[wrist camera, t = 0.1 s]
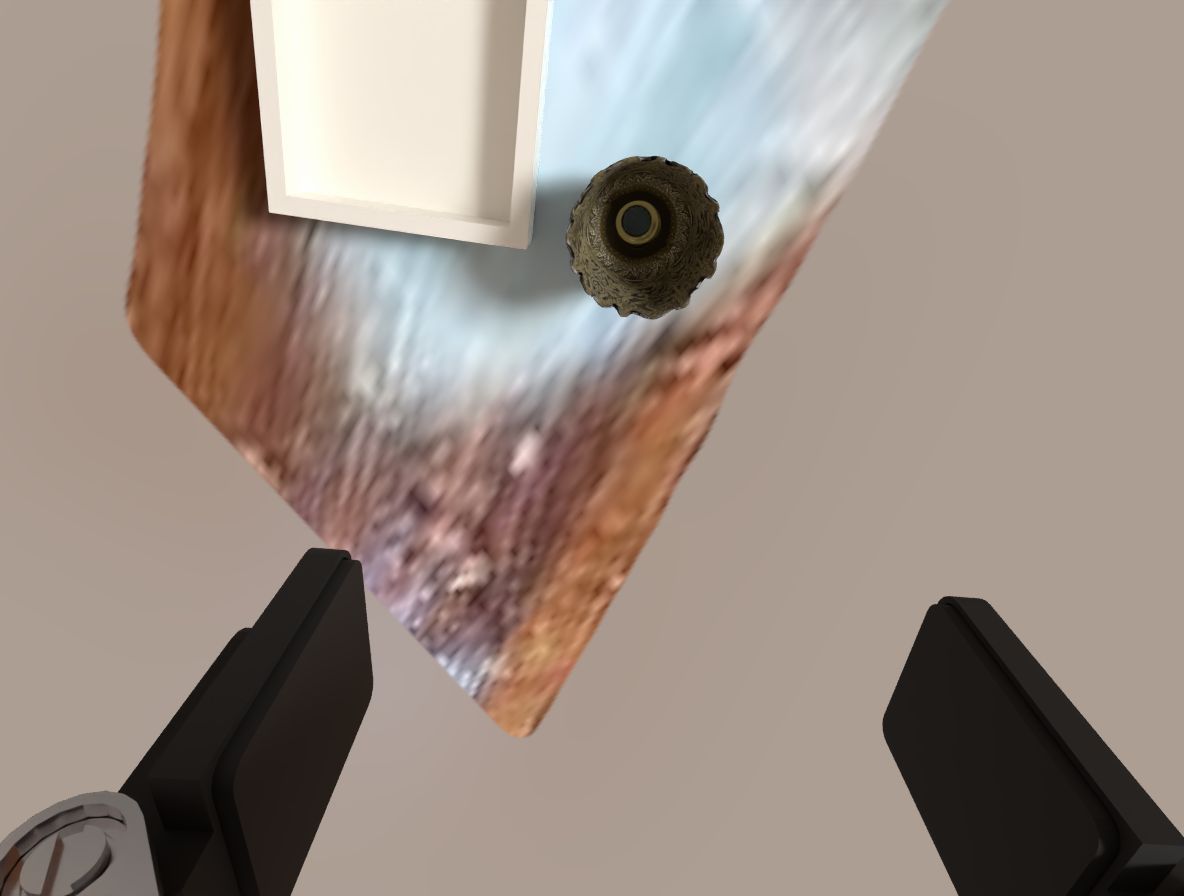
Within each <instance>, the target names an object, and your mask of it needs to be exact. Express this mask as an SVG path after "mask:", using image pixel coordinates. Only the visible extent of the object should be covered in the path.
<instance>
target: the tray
mask: <svg viewBox="0 0 1184 896" xmlns="http://www.w3.org/2000/svg"><path fill="white" fill-rule="evenodd" d="M250 5H251V16H252V27H253V38H254V49H255V60H256V71H257V83H258V94H259V105H260V116H261V127H262V138H263V149H264V161H265V172H266V183H267V194H268V205H269V212H270V213H277V214H283V215H290V216H297V217H304V218H311V219H318V220H325V221H331V222H338V223H345V224H352V225H359V226H366V227H373V228H379V229H386V230H393V231H400V232H407V233H414V234H420V235H427V236H434V237H441V238H448V239H455V240H462V241H468V242H475V243H482V244H489V245H496V246H503V247H510V248H516V249H523V250H526V249H527V248H528V246H529V245H530V243H531V242H532V234H533V223H534V213H535V202H536V191H537V180H538V169H539V158H540V147H541V136H542V125H543V114H544V104H545V93H546V82H547V71H548V60H549V49H550V38H551V27H552V16H553V5H554V0H250Z"/></svg>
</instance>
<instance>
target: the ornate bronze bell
mask: <svg viewBox="0 0 1184 896" xmlns="http://www.w3.org/2000/svg"><path fill="white" fill-rule="evenodd" d="M632 207H642V208H644V209H645V210H646V211H647V212H648V213H649V215H650V219H651V223H650V227H649V229H648V230H647V231H646V232H645V233H644V234H642V235H640V236H633V235H630V234H629V233H627V232H626V230H625V229H624V226H623V217H624V214H625V213H626V212H627V210H629V209H630V208H632ZM718 212H719V204H718V202H717V201H716V200H715V199H713V198H712V197H710V196H709V195H708V187H707V185H706V183H705V182H704V180H703V179H702V178H701V177H700V176H699V175H697V174H694V173H693V171H691V170H690V169H689V168H687V167H686V166H683V165H680V164H678V163H676V162H674V161H672V162H670V161H668V160H667V159H666V158H663V157H659V156H651V157H640V156H635V157H629V158H626V159H623V160H620V161H618V162H616V163H614V164H612V165H610V166H609V167H607V168H606V169H604V170H601V171H600V172H598V173H597V174H596V175H595V176H594V177H593V178H592V179H591V182H590V184H589V185H588V187H587V188H586V189H585V191H584V192H583V193H582V194H581V197H580V199H579V201H578V202H577V203H576V204H575V206H574V208H573V210H572V212H571V216H570V219H571V220H570V223H569V226H568V229H567V232H566V245H567V248H568V250H569V252H570V255H571V260H570V266H571V269H572V271H573V272H574V273H577V274H579V279H580V282H581V284H582V286H583V288H584V290H585V292H586V293H587V294H588V295H591V296H592V297H593V298H594V300H595V301H596V302H597V303H598V305H600V306H601V307H603V308H611V307H615V309H616V310H617V311H618V314H619V315H620V316H622V317H627V316H629V315H630V314H636V315H639V316H641V317H643V318H647V319H658V318H660V317H662V316H664V315H666V314H667V313H668V312H670V311H671V310H673V309H676V310H679V309H682V308H685V307H686V306H687V305H688V304H689V303H690V299H689V298H690V295H691V294H692V292H693V291H695V290H696V289H698V288H699V287H700V284H701V283H702V282H703V280H704V279H705V278H707V279H711V277H712V276H713V275H714V273H715V271H716V267H717V262H716V260H717V258H718V256H719V255H720V253H721V251H722V248H723V244H724V233H723V229H722V225H721V223H720V220H719V217H718Z"/></svg>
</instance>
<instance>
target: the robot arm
mask: <svg viewBox="0 0 1184 896" xmlns="http://www.w3.org/2000/svg"><path fill="white" fill-rule="evenodd" d="M372 690H373V672H372V663H371V653H370V644H369V633H368V623H367V613H366V603H365V593H364V583H363V573H362V565H361V562H360V561H358V560H351V555H350V553H349V551H347V550H336V549H323V548H311V549H309V550H308V551H307V552H306V553H305V554H304V556H303V557H302V559H301V560H300V561H299V563H298V564H297V566H296V567H295V568H294V570H293V571H292V573H291V574H290V575H289V577H288V578H287V580H286V581H285V582H284V584H283V585H282V587H281V588H280V589H279V591H278V592H277V594H276V595H275V597H274V598H273V599H272V601H271V602H270V603H269V605H268V606H267V608H266V609H265V610H264V612H263V613H262V615H261V616H260V617H259V619H258V620H257V622H256V623H255V624H254V626H253V627H252V628H244V629H242V630H240V631H238V632H237V633H236V634H235V636H233V638H232V639H231V640H230V641H229V642H228V644H227V645H226V647H225V648H224V649H223V651H222V652H221V653H220V655H219V656H218V657H217V659H216V660H215V662H214V663H213V664H212V665H211V667H210V668H209V670H208V671H207V672H206V674H205V675H204V676H203V678H202V679H201V680H200V682H199V683H198V684H197V686H196V687H195V689H194V690H193V691H192V693H191V694H190V695H189V697H188V698H187V699H186V701H185V702H184V703H183V705H182V706H181V707H180V709H179V710H178V712H177V713H176V714H175V715H174V717H173V718H172V720H171V721H170V722H169V724H168V725H167V727H166V728H165V729H164V730H163V732H162V733H161V734H160V736H159V737H158V739H157V740H156V741H155V743H154V744H153V745H152V747H151V748H150V749H149V751H148V752H147V753H146V755H145V756H144V757H143V759H142V760H141V761H140V763H139V764H138V766H137V767H136V769H135V770H134V771H133V772H132V774H131V775H130V776H129V778H128V779H127V780H126V782H125V783H124V784H123V786H122V787H121V789H120V790H119V791H118V793H116V792H109V791H101V792H93V793H86V794H81V795H78V796H75V797H72V798H70V799H66V800H63V801H60V802H58V803H56V804H54V805H52V806H50V807H49V808H47V809H45V810H43V811H41V812H39V813H37V814H36V815H34V816H32V817H31V818H30V819H28V820H27V821H26V822H24V823H23V824H22V825H20V826H19V827H18V828H16V829H15V830H14V831H12V832H11V833H10V834H9V835H8V836H7V837H6V838H5V839H4V840H3V841H2V842H1V843H0V896H291V893H292V891H293V888H294V886H295V883H296V881H297V878H298V876H299V874H300V871H301V868H302V866H303V864H304V861H305V859H306V857H307V854H308V852H309V849H310V847H311V844H312V842H313V840H314V837H315V834H316V832H317V830H318V827H319V825H320V822H321V820H322V818H323V815H324V813H325V810H326V808H327V805H328V803H329V801H330V798H331V796H332V793H333V791H334V788H335V786H336V783H337V781H338V779H339V776H340V774H341V771H342V769H343V766H344V764H345V761H346V759H347V757H348V754H349V752H350V749H351V747H352V744H353V742H354V740H355V737H356V735H357V732H358V730H359V727H360V725H361V723H362V720H363V717H364V715H365V713H366V710H367V708H368V705H369V703H370V700H371V696H372ZM883 733H884V737H885V740H886V742H887V745H888V747H889V749H890V751H891V753H892V755H893V757H894V760H895V762H896V763H897V766H898V768H899V770H900V772H901V774H902V777H903V779H904V781H905V783H906V785H907V787H908V789H909V791H910V794H911V795H912V798H913V799H914V802H915V804H916V806H917V808H918V810H919V813H920V815H921V817H922V819H923V821H924V823H925V825H926V827H927V830H928V832H929V834H930V836H931V838H932V840H933V842H934V844H935V847H936V848H937V851H938V853H939V855H940V857H941V859H942V861H943V864H944V866H945V868H946V870H947V872H948V874H949V876H950V878H951V881H952V883H953V885H954V887H955V889H956V891H957V893H958V895H959V896H1184V837H1183V836H1182V835H1181V833H1180V832H1179V831H1178V830H1177V829H1176V827H1175V826H1174V825H1173V824H1172V823H1171V821H1170V820H1169V819H1168V818H1167V817H1166V815H1165V814H1164V813H1163V812H1162V811H1161V809H1160V808H1159V807H1158V806H1157V805H1156V803H1155V802H1154V801H1153V800H1152V799H1151V797H1150V796H1149V795H1148V794H1147V793H1146V791H1145V790H1144V789H1143V788H1142V787H1141V785H1140V784H1139V783H1138V782H1137V780H1136V779H1135V778H1134V777H1133V776H1132V775H1131V773H1130V772H1129V771H1128V770H1127V768H1126V767H1125V766H1124V765H1123V764H1122V763H1121V761H1120V760H1119V759H1118V758H1117V756H1116V755H1115V754H1114V753H1113V752H1112V750H1111V749H1110V748H1109V747H1108V746H1107V745H1106V743H1105V742H1104V741H1103V740H1102V738H1101V737H1100V736H1099V735H1098V734H1097V732H1096V731H1095V730H1094V729H1093V728H1092V726H1091V725H1090V724H1089V723H1088V722H1087V720H1086V719H1085V718H1084V717H1083V716H1082V714H1081V713H1080V712H1079V711H1078V710H1077V708H1076V707H1075V706H1074V705H1073V704H1072V702H1071V701H1070V700H1069V699H1068V698H1067V696H1066V695H1065V694H1064V693H1063V692H1062V690H1061V689H1060V688H1059V687H1058V686H1057V684H1056V683H1055V682H1054V681H1053V680H1052V678H1051V677H1050V676H1049V675H1048V674H1047V672H1046V671H1045V670H1044V669H1043V667H1042V666H1041V665H1040V664H1039V663H1038V662H1037V660H1036V659H1035V658H1034V657H1033V656H1032V655H1031V653H1030V652H1029V651H1028V649H1027V648H1026V647H1025V646H1024V645H1023V643H1021V641H1020V640H1019V639H1018V637H1017V636H1016V635H1015V634H1014V633H1013V631H1012V630H1011V629H1010V628H1009V627H1008V625H1007V624H1006V623H1005V622H1004V621H1003V619H1002V618H1001V617H1000V616H999V615H998V614H997V612H996V611H995V610H994V609H993V607H992V606H991V605H990V604H989V603H988V602H987V601H985V600H983V599H979V598H965V597H953V596H946V597H943V598H942V599H940V601H939V602H938V604H934V605H932V606H930V608H929V609H928V611H927V613H926V616H925V618H924V620H923V623H922V625H921V628H920V630H919V632H918V635H917V637H916V640H915V642H914V644H913V647H912V649H911V652H910V654H909V656H908V659H907V661H906V664H905V666H904V669H903V671H902V673H901V676H900V678H899V680H898V683H897V686H896V688H895V690H894V693H893V695H892V697H891V700H890V702H889V705H888V707H887V709H886V712H885V714H884V718H883Z"/></svg>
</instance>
